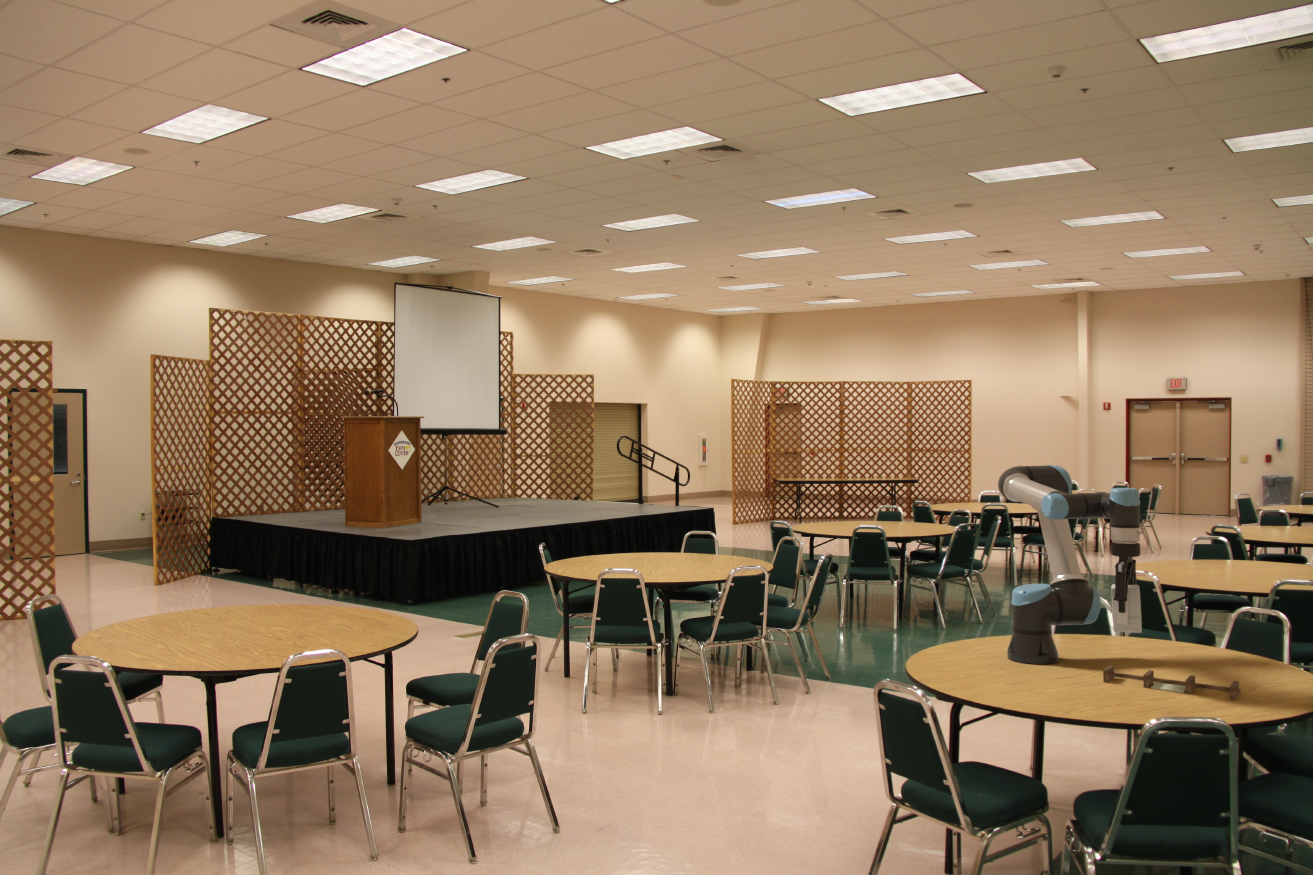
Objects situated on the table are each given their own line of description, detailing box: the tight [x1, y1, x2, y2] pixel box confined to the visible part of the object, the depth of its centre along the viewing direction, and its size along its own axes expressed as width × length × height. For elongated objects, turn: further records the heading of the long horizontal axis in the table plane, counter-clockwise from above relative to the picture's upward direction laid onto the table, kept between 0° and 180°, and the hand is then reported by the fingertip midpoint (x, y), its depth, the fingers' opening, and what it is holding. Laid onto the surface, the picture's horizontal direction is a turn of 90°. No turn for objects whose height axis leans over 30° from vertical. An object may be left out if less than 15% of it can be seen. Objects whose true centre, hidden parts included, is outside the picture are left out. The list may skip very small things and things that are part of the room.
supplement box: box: [1110, 583, 1143, 634], centre depth 266 cm, size 7×7×13 cm
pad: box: [1150, 682, 1186, 694], centre depth 259 cm, size 8×6×1 cm
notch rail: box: [1102, 664, 1242, 701], centre depth 260 cm, size 32×10×4 cm, turn 51°
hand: (1126, 620), depth 266 cm, fingers closed on supplement box, 8 cm apart
